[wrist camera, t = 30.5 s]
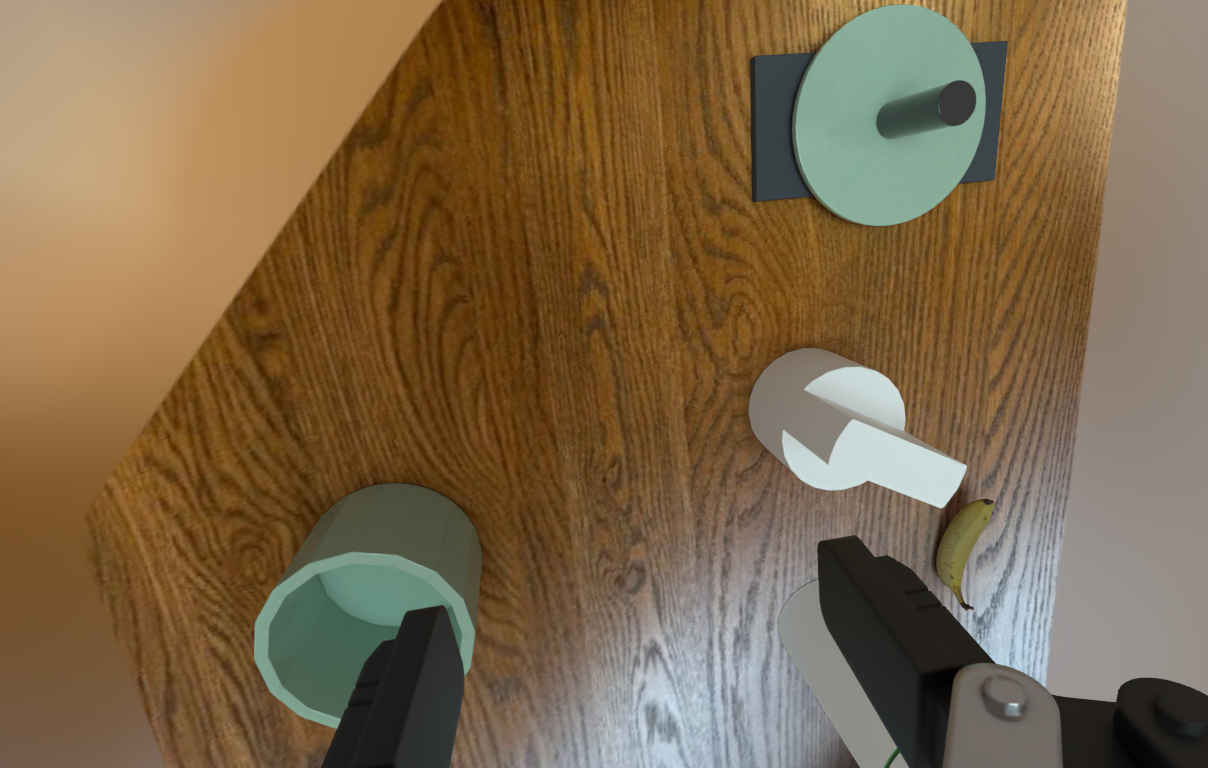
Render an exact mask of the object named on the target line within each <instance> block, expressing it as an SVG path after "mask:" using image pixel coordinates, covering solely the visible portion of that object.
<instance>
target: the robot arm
mask: <svg viewBox="0 0 1208 768" xmlns="http://www.w3.org/2000/svg"><path fill="white" fill-rule="evenodd" d="M817 553H818V579H819V601H820V607H821V612H822V615H823V619H824V621H825V624H826V626H827V629H828V631H829V632H830V634H831V636H832V638H833V639H834V641H835V643H836V644H837V646H838V648H839V649H840V651H841V653H842V655H843V656H844V658H845V660H846V661H847V663H848V665H849V666H850V668H851V670H852V672H853V673H854V675H855V677H856V678H857V680H858V682H859V683H860V685H861V687H862V689H863V690H864V692H865V694H866V695H867V697H868V699H869V700H870V702H871V704H872V706H873V707H874V709H875V711H876V712H877V714H878V716H879V717H880V719H881V721H882V723H883V724H884V726H885V728H886V729H887V731H888V733H889V734H890V736H891V738H892V740H893V741H894V743H895V745H896V746H897V748H898V750H899V751H900V753H901V755H902V757H903V758H904V760H905V762H906V763H907V765H908V767H909V768H1208V696H1207V695H1205V694H1203V693H1202V692H1200V691H1197V690H1195V689H1193V688H1191V687H1188V686H1185V685H1182V684H1179V683H1176V682H1172V681H1169V680H1164V679H1158V678H1137V679H1133V680H1130V681H1128V682H1125V683H1124V684H1123V685H1122V686H1121V687H1120V689H1119V690H1118V695H1117V700H1116V702H1107V701H1097V700H1087V699H1078V698H1068V697H1061V696H1056V695H1052V694H1050V693H1049V692H1048V690H1047V689H1046V688H1045V687H1043V686H1042V685H1041V684H1040V683H1039V682H1037V681H1036V680H1034V679H1033V678H1032V677H1030V676H1028V675H1026V674H1024V673H1023V672H1020V671H1018V670H1016V669H1013V668H1010V667H1007V666H1003V665H999V664H996V663H995V662H994V661H993V660H992V659H991V658H990V657H989V656H988V654H987V653H986V652H985V651H984V650H983V649H982V648H981V647H980V645H979V644H978V643H977V642H976V641H975V640H974V639H973V638H972V637H971V635H970V634H969V633H968V632H967V631H966V630H965V629H964V628H963V626H962V625H961V624H960V623H959V622H958V621H957V620H956V619H955V618H954V616H953V615H952V614H951V613H950V612H949V611H948V610H947V609H946V607H945V606H943V607H942V605H941V602H940V601H939V600H938V599H937V597H936V596H935V595H934V594H933V593H932V592H931V591H928V588H927V586H926V585H925V584H924V583H923V582H922V581H921V580H920V578H919V577H918V576H917V575H916V574H915V573H914V572H913V571H912V569H910V568H908V567H907V566H905V565H903V564H901V563H900V562H898V561H896V560H895V559H893V558H891V557H890V556H888V555H886V556H881V557H874V556H873V554H872V553H871V552H870V551H869V550H868V548H867V547H866V546H865V545H864V544H863V542H862V541H861V540H860V539H859V538H858V537H857V536H855V535H854V536H848V537H842V538H836V539H830V540H824V541H820V542H819V543H818V548H817ZM355 685H356V688H355V689H353V692H352V694H351V697H350V699H349V701H348V708H346V709H345V711H344V713H343V716H342V718H341V721H340V723H339V726H338V728H337V730H336V733H335V735H334V738H333V740H332V742H331V745H330V747H329V750H328V752H327V755H326V757H325V759H324V762H323V764H322V767H321V768H449V766H450V760H451V755H452V750H453V745H454V740H455V735H456V730H457V725H458V720H459V714H460V709H461V704H462V699H463V694H464V667H463V662H462V658H461V655H460V651H459V648H458V645H457V641H456V638H455V635H454V631H453V628H452V625H451V621H450V618H449V615H448V612H447V609H446V608H445V606H444V605H439V606H433V607H428V608H422V609H416V610H410V611H407V612H406V613H405V615H404V617H403V620H402V623H401V625H400V628H399V631H398V634H397V636H396V639H392V640H386V641H382V642H381V644H380V645H379V646H378V647H377V648H376V649H375V651H374V652H373V653H372V654H371V655H370V657H369V658H368V659H367V660H366V661H365V663H364V665H363V668H362V670H361V672H360V675H359V677H358V680H357V682H356V684H355Z"/></svg>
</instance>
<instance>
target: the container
mask: <svg viewBox="0 0 1208 768" xmlns="http://www.w3.org/2000/svg"><path fill="white" fill-rule="evenodd" d="M778 632H779V637H780V640H781V642H782V644H783V646H784V647H785V649H786V651H787V652H788V654H789V655H790V657H791V659H792V660H793V662H794V663H795V665H796V667H797V668H798V670H799V671H800V673H801V674H802V676H803V678H804V679H805V681H806V682H807V684H808V686H809V687H810V689H811V690H812V692H813V694H814V695H815V697H816V698H817V700H818V702H819V703H820V705H821V706H822V708H823V709H824V711H825V713H826V714H827V716H828V717H829V719H830V721H831V722H832V724H833V725H834V727H835V729H836V730H837V732H838V733H839V735H840V737H841V738H842V740H843V741H844V743H845V744H846V746H847V748H848V749H849V751H850V752H851V754H852V756H853V757H854V759H855V760H856V762H857V764H858V765H859V767H860V768H909V767H908V765H907V763H906V762H905V760H904V758H903V757H902V755H901V753H900V751H899V750H898V748H897V746H896V745H895V743H894V741H893V740H892V738H891V736H890V734H889V733H888V731H887V729H886V728H885V726H884V724H883V723H882V721H881V719H880V717H879V716H878V714H877V712H876V711H875V709H874V707H873V706H872V704H871V702H870V700H869V699H868V697H867V695H866V694H865V692H864V690H863V689H862V687H861V685H860V683H859V682H858V680H857V678H856V677H855V675H854V673H853V672H852V670H851V668H850V666H849V665H848V663H847V661H846V660H845V658H844V656H843V655H842V653H841V651H840V649H839V648H838V646H837V644H836V643H835V641H834V639H833V638H832V636H831V634H830V632H829V631H828V629H827V626H826V624H825V621H824V619H823V615H822V612H821V607H820V601H819V579H818V580H815V581H812V582H810V583H808V584H806V585H804V586H803V587H802V588H800V589H799V590H797V591H796V592H795V593H794V594H793V595H792V596H791V597H790V598H789V600H788V601H787V602H786V604H785V605H784V607H783V609H782V611H781V614H780V617H779V622H778Z"/></svg>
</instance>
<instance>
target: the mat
mask: <svg viewBox="0 0 1208 768" xmlns="http://www.w3.org/2000/svg"><path fill="white" fill-rule="evenodd" d="M1007 43H1008V42H1007V41H999V42H982V43H970V44H971V46H972V48H973V50H974V52H975V54H976V56H977V58H978V61H979V64H980V67H981V70H982V74H983V79H984V84H985V95H986V109H985V119H984V126H983V130H982V135H981V139H980V142H979V145H978V147H977V150H976V153H975V155H974V157H973V159H972V162H971V164H970V166H969V167H968V169H967V171H966V172H965V174H964V176H963V177H962V179H961V180H960V181H959V183H968V182H980V181H991V180H994V177H995V167H996V157H997V146H998V136H999V126H1000V115H1001V105H1002V94H1003V84H1004V74H1005V63H1006V53H1007ZM816 53H817V52H814V53H798V54H781V55H764V56H755V57H753V58H752V59H751V123H752V198H753V202H756V201H768V200H779V199H790V198H801V197H812V196H814V195H813V194H812V193H811V191H810V190H809V188H808V186H807V185H806V183H805V181H804V179H803V177H802V175H801V173H800V171H799V167H798V164H797V161H796V158H795V152H794V147H793V136H792V122H793V112H794V106H795V100H796V97H797V93H798V90H799V86H800V84H801V81H802V79H803V76H804V74H805V72H806V70H807V68H808V66H809V64H810V62H811V61H812V59H813V57H814V56H815V55H816Z"/></svg>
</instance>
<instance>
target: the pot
mask: <svg viewBox="0 0 1208 768" xmlns="http://www.w3.org/2000/svg"><path fill="white" fill-rule="evenodd" d="M482 559H483V553H482V550H481V544H480V540H479V536H478V534H477V532H476V529H475V527H474V525H473V524H472V522H471V520H470V519H469V518H468V516H467V515H466V514H465V513H464V511H463V510H461V509H460V508H459V507H458V506H457V505H456V504H455V503H454V502H452V501H451V500H449V499H448V498H447V497H445V496H443V495H441V494H439V493H437V492H435V491H433V490H430V489H428V488H424V487H421V486H417V485H411V484H404V483H388V484H379V485H374V486H369V487H366V488H363V489H360V490H357V491H355V492H353V493H351V494H349V495H347V496H345V497H344V498H342V499H341V500H339V501H338V502H336V503H335V504H334V505H333V506H332V507H331V508H329V510H328V511H326V512H325V513H324V514H323V515H322V516H321V517H320V519H319V520H318V522H317V523H316V525H315V526H314V528H313V530H312V531H311V533H310V534H309V536H308V537H307V539H306V540H305V542H304V543H303V545H302V546H301V548H300V549H299V551H298V552H297V554H296V555H295V557H294V559H293V560H292V562H291V563H290V565H289V566H288V568H287V569H286V571H285V572H284V574H283V575H282V577H281V578H280V580H279V581H278V583H277V585H276V586H275V588H274V589H273V591H272V593H271V594H270V596H269V598H268V600H267V602H266V603H265V605H264V607H263V609H262V610H261V612H260V614H259V616H258V618H257V619H256V621H255V637H254V661H255V663H256V665H257V667H258V669H259V670H260V672H261V674H262V676H263V678H264V680H265V682H266V684H267V686H268V688H269V690H270V692H271V693H272V694H273V695H274V696H275V697H277V698H278V699H279V700H280V701H282V702H283V703H284V704H285V705H286V706H288V707H289V708H290V709H291V710H293V711H294V712H295V713H296V714H298V715H299V716H300V717H303V718H306V719H309V720H312V721H314V722H317V723H320V724H323V725H326V726H329V727H332V728H335V729H337V728H338V726H339V723H340V721H341V718H342V716H343V713H344V711H345V709H346V708H348V701H349V699H350V697H351V694H352V692H353V689H355V688H356V685H355V684H356V682H357V680H358V677H359V675H360V672H361V670H362V668H363V665H364V663H365V661H366V660H367V659H368V658H369V657H370V655H371V654H372V653H373V652H374V651H375V649H376V648H377V647H378V646H379V645H380V644H381V642H382V641H386V640H392V639H396V636H397V634H398V631H399V628H400V625H401V623H402V620H403V617H404V615H405V613H406V612H407V611H410V610H416V609H422V608H428V607H433V606H439V605H444V606H445V608H446V609H447V612H448V615H449V618H450V621H451V625H452V628H453V631H454V635H455V638H456V641H457V645H458V648H459V651H460V655H461V658H462V662H463V667H464V677H465V675H466V674H467V672H468V670H469V669H470V667H471V663H472V655H473V648H474V640H475V632H476V622H477V611H478V601H479V591H480V580H481V570H482Z"/></svg>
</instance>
